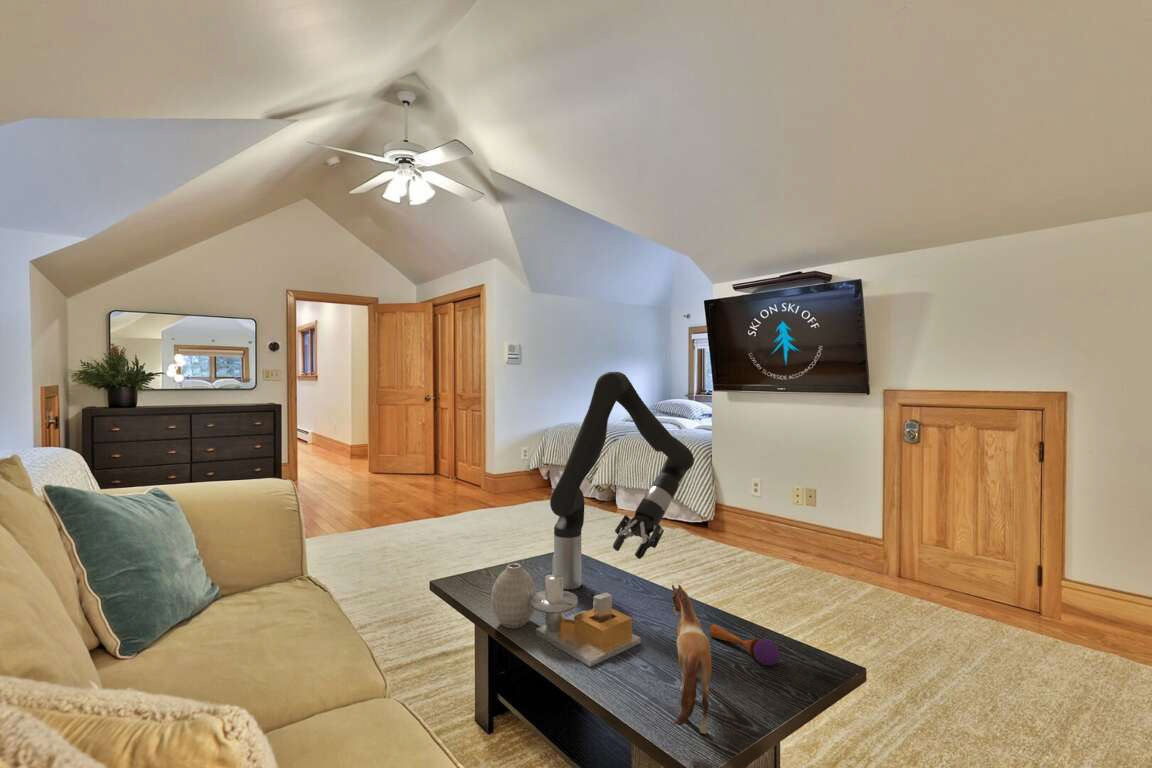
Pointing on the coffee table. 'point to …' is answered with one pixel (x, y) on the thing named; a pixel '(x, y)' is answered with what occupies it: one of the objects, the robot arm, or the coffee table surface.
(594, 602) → the grey rectangular peg
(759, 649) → the kendama
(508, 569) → the vase
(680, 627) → the horse figurine
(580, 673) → the coffee table surface
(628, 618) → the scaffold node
